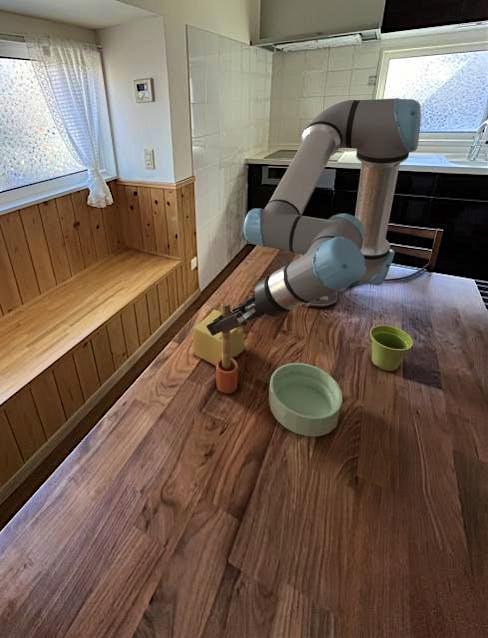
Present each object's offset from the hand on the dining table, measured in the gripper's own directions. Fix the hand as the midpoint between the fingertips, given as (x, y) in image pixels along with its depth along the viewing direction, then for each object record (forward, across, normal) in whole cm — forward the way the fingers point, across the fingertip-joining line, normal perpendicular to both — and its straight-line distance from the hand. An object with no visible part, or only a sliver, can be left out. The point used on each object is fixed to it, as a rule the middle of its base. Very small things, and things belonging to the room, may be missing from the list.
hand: (213, 327), depth 80 cm
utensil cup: (+9, 0, -14) cm, 17 cm away
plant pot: (-10, +32, -34) cm, 48 cm away
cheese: (+15, +8, -8) cm, 19 cm away
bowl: (-3, +6, -26) cm, 27 cm away
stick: (+4, 0, -9) cm, 10 cm away
